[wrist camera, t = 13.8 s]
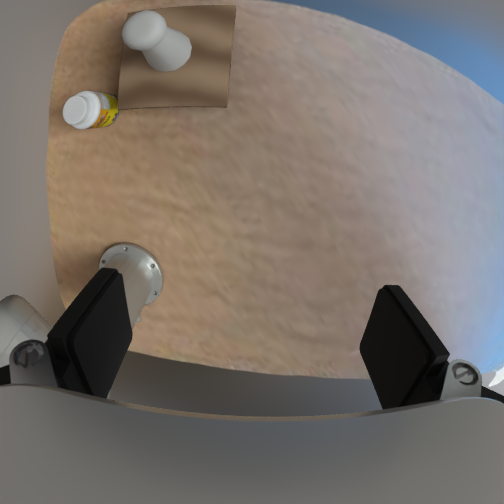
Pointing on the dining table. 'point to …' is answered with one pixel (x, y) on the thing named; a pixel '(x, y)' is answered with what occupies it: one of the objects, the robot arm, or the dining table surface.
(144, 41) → the salt shaker
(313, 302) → the dining table surface
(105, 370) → the robot arm
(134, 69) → the small wooden table
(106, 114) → the supplement bottle
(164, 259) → the dining table surface
